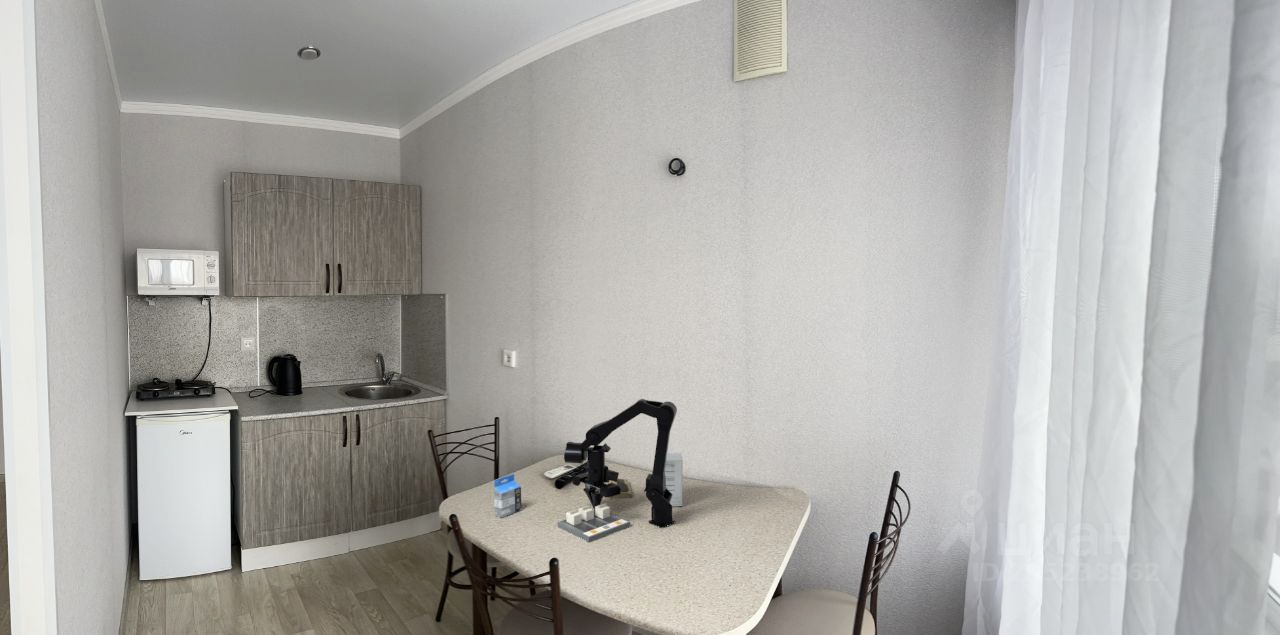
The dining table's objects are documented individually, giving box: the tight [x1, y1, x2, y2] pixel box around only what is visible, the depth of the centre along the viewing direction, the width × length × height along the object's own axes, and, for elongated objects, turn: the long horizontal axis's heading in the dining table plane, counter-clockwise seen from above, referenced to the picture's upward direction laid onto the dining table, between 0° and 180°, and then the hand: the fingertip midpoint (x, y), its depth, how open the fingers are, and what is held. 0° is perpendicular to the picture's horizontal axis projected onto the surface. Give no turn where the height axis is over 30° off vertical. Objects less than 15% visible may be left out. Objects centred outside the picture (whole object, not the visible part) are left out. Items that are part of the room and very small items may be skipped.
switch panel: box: [557, 509, 631, 543], centre depth 189 cm, size 16×17×2 cm
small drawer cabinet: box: [665, 452, 684, 507], centre depth 210 cm, size 10×9×17 cm
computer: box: [607, 478, 633, 500], centre depth 222 cm, size 16×8×3 cm, turn 7°
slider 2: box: [595, 502, 611, 519], centre depth 194 cm, size 4×3×4 cm
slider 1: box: [565, 508, 582, 525], centre depth 188 cm, size 4×3×4 cm
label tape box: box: [493, 473, 523, 519], centre depth 200 cm, size 9×4×12 cm, turn 143°
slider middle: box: [578, 504, 594, 521], centre depth 192 cm, size 4×3×4 cm
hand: (596, 510), depth 196 cm, fingers closed
